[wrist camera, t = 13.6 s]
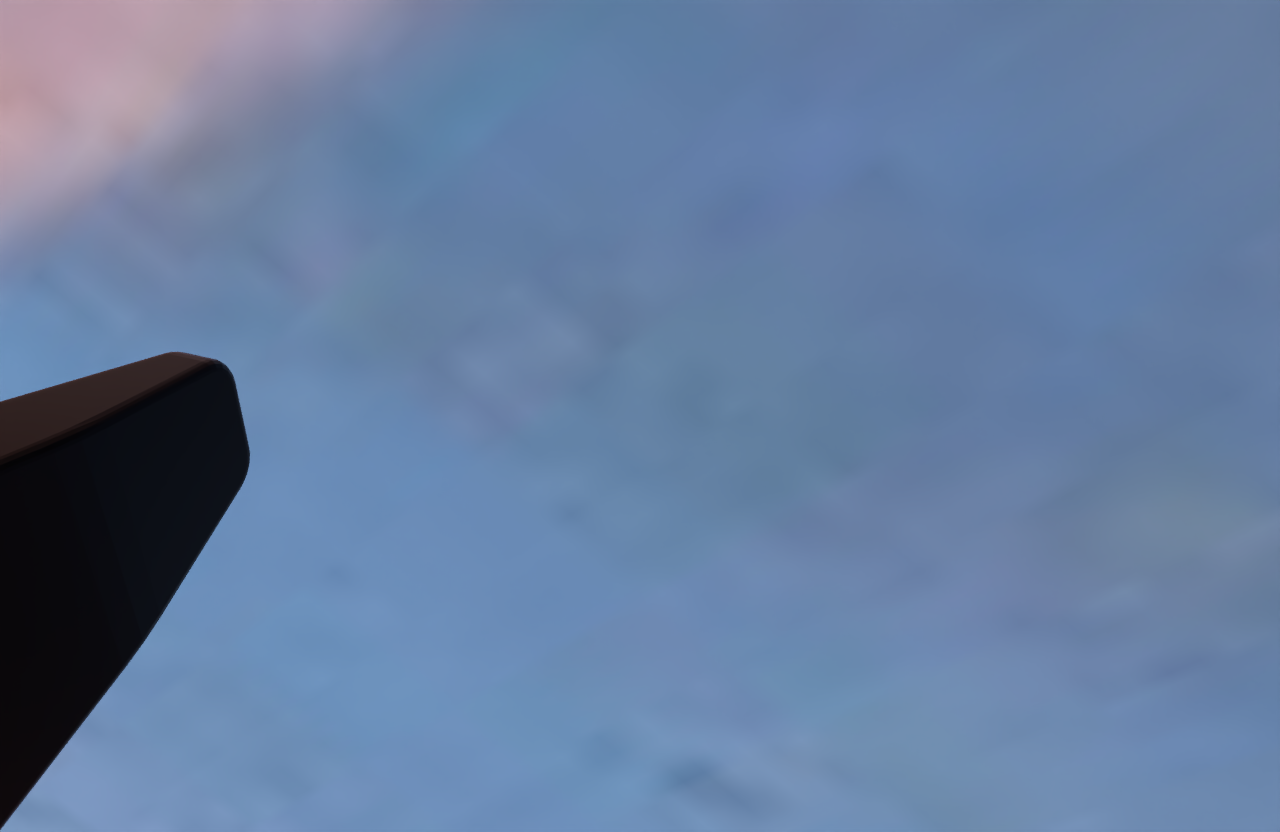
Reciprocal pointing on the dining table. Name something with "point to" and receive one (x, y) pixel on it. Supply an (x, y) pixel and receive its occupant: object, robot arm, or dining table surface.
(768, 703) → the dining table surface
